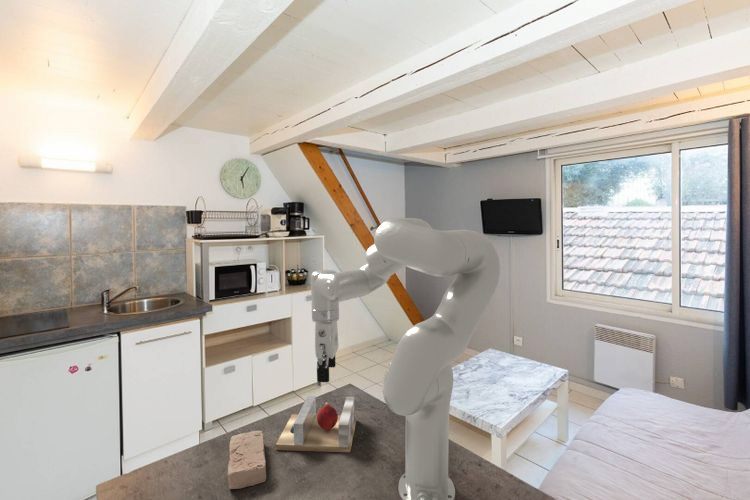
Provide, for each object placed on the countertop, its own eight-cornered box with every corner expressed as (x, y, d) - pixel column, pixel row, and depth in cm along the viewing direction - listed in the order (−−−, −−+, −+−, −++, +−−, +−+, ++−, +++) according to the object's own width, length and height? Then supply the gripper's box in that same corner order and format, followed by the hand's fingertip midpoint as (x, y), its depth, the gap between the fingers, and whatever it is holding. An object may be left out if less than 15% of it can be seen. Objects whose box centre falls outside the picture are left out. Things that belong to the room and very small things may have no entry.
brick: (230, 449, 95) (229, 433, 94) (263, 443, 98) (262, 426, 97) (228, 494, 79) (227, 475, 79) (266, 484, 82) (266, 465, 82)
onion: (341, 428, 101) (341, 401, 101) (329, 438, 97) (328, 410, 96) (326, 422, 104) (325, 396, 104) (313, 431, 100) (312, 404, 99)
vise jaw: (303, 445, 94) (302, 423, 93) (288, 444, 94) (288, 423, 93) (316, 414, 109) (315, 396, 108) (303, 414, 109) (303, 395, 108)
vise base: (350, 452, 93) (349, 425, 92) (275, 449, 94) (275, 423, 94) (356, 420, 108) (356, 397, 107) (292, 418, 109) (291, 395, 109)
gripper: (333, 323, 89) (334, 388, 91) (343, 307, 107) (344, 362, 108) (304, 323, 90) (305, 388, 91) (319, 307, 107) (320, 361, 108)
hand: (326, 373), depth 99 cm, fingers open, 9 cm apart
